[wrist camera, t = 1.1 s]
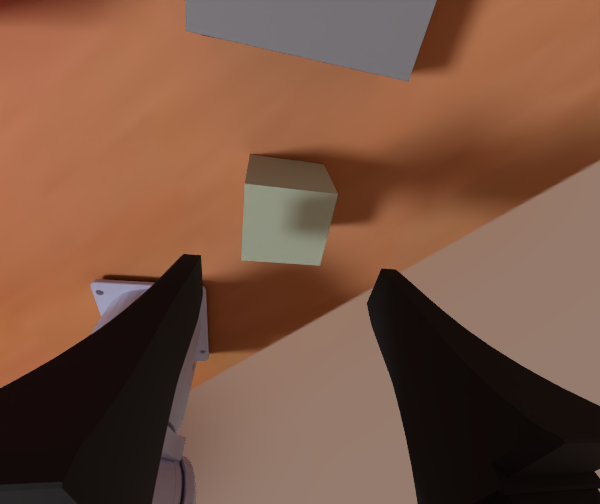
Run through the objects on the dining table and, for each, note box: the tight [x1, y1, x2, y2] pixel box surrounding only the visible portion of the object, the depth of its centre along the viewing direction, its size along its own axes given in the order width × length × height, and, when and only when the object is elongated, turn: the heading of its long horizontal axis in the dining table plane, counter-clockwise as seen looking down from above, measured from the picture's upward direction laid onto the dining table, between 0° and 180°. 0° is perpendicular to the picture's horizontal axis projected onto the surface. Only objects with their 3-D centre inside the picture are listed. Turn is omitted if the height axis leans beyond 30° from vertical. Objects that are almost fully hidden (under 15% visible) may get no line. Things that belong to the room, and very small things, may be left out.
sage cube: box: [241, 154, 338, 266], centre depth 16 cm, size 4×4×4 cm
